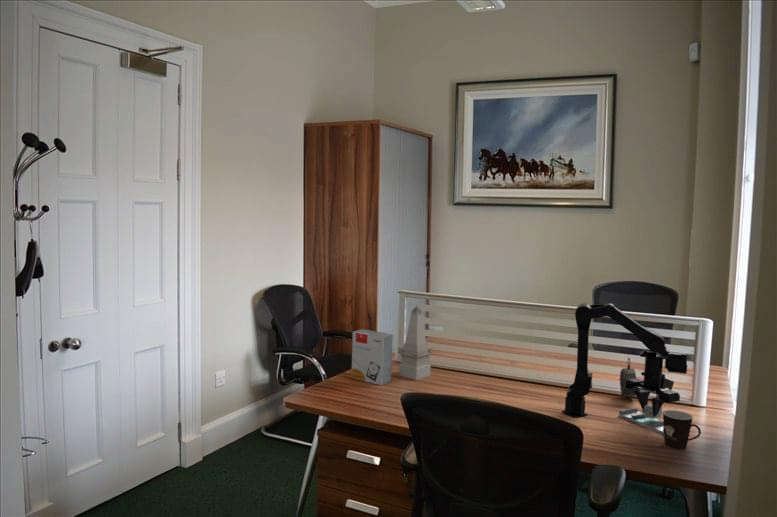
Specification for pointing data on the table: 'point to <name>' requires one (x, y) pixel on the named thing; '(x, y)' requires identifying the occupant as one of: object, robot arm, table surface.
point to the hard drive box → (371, 356)
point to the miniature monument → (415, 349)
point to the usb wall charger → (651, 412)
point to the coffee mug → (677, 429)
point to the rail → (642, 419)
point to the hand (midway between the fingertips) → (649, 414)
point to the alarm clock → (624, 376)
